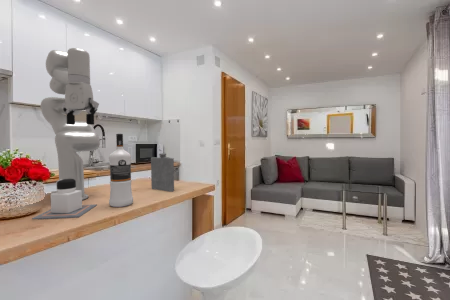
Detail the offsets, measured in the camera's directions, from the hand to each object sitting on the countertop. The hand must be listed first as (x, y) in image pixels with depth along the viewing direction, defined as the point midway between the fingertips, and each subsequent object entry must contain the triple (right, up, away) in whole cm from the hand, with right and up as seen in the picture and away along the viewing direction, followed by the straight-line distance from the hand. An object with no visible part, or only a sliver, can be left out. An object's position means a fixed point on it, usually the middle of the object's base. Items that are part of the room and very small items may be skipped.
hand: (80, 124), depth 93 cm
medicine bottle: (-2, -34, -5) cm, 34 cm away
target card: (-1, -34, -6) cm, 35 cm away
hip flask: (+25, -32, +33) cm, 53 cm away
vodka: (+15, -34, +4) cm, 37 cm away
